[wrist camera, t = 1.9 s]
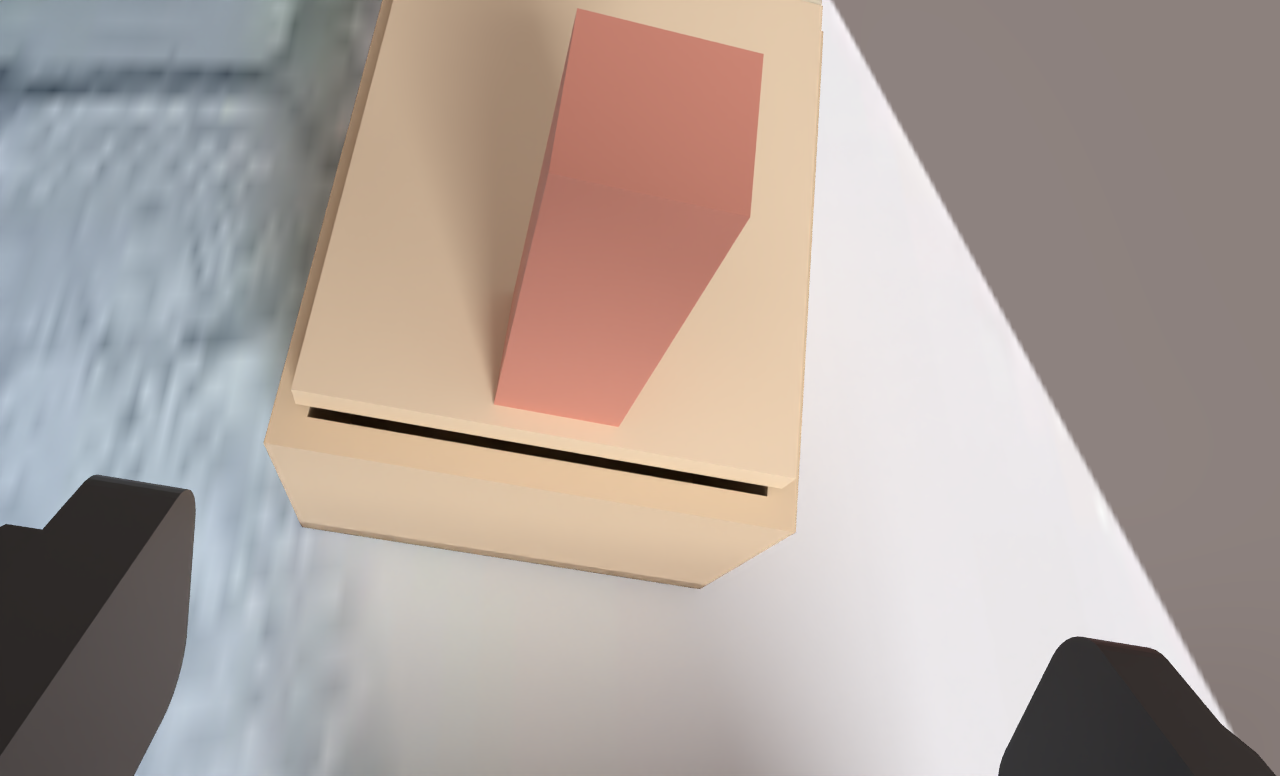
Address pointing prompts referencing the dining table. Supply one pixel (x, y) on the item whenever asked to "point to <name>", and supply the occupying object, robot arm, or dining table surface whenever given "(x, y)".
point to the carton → (510, 473)
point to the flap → (580, 231)
